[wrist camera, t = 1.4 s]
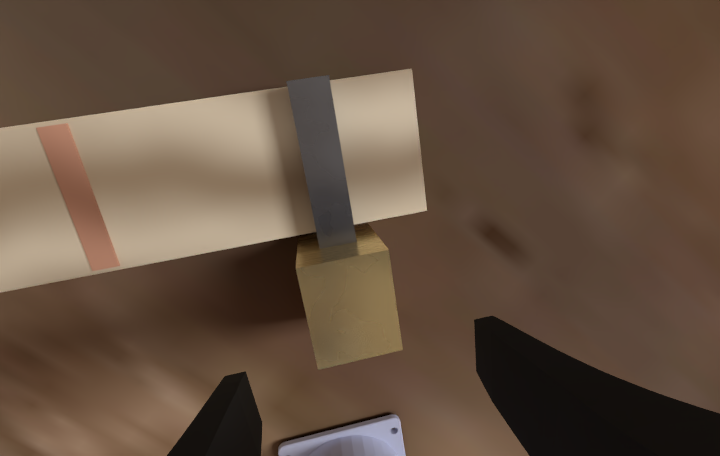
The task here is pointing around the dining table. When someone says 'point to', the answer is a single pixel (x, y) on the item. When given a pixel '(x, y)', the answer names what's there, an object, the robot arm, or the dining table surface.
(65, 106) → the dining table surface
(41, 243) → the maple board
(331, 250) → the marking gauge
